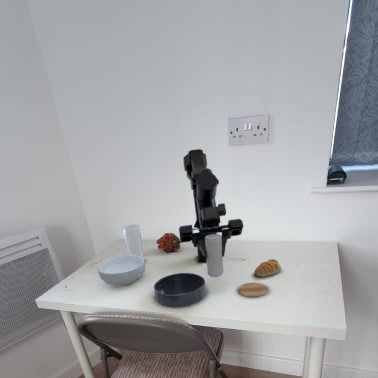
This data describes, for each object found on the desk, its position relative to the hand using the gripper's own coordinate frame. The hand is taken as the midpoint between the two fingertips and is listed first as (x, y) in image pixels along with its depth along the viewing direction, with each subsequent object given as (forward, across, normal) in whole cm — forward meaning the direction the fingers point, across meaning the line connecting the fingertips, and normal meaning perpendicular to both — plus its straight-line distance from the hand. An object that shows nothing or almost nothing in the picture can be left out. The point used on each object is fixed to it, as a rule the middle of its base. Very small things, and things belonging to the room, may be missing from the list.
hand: (214, 257), depth 95 cm
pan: (+6, -11, +13) cm, 18 cm away
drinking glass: (-17, -28, +37) cm, 49 cm away
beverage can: (+4, 0, +6) cm, 7 cm away
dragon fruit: (-24, -14, +43) cm, 51 cm away
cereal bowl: (-5, -31, +24) cm, 40 cm away
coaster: (+9, +11, +10) cm, 18 cm away
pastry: (+1, +20, +19) cm, 27 cm away
